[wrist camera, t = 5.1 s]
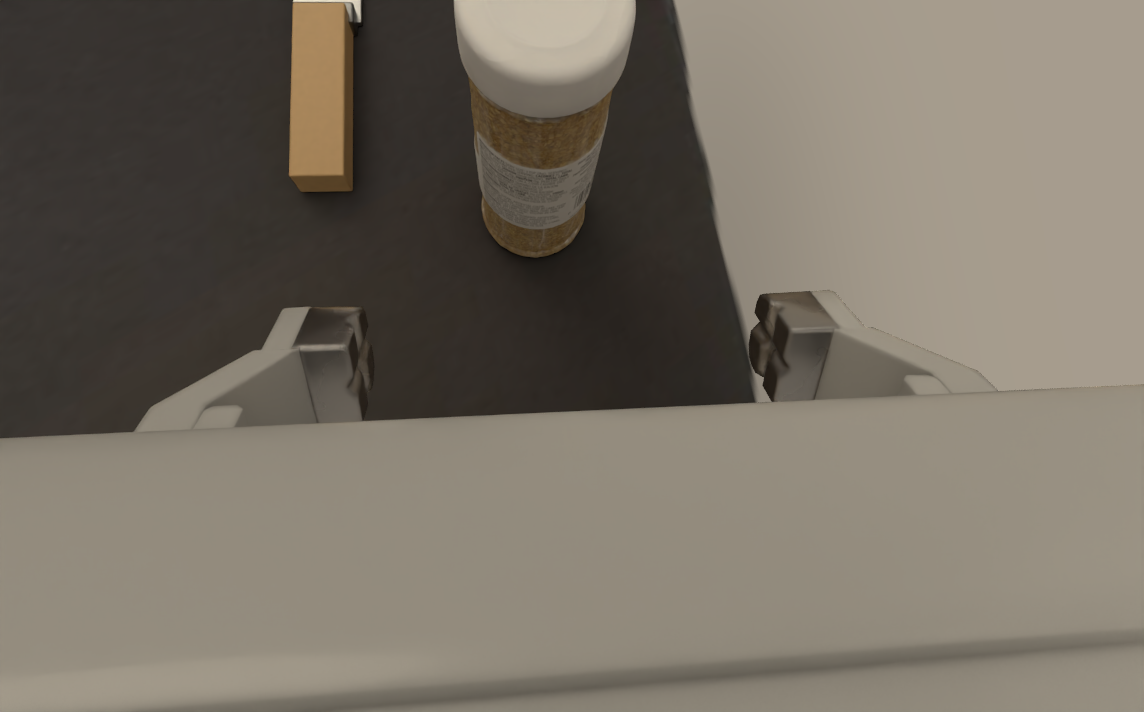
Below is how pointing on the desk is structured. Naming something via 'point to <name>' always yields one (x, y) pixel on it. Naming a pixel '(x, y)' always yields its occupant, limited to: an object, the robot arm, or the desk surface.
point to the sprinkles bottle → (540, 109)
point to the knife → (322, 94)
